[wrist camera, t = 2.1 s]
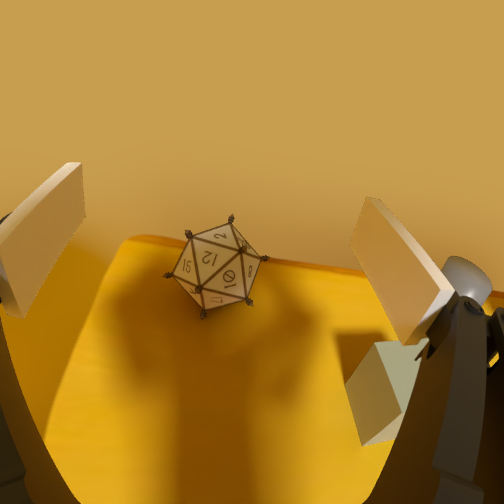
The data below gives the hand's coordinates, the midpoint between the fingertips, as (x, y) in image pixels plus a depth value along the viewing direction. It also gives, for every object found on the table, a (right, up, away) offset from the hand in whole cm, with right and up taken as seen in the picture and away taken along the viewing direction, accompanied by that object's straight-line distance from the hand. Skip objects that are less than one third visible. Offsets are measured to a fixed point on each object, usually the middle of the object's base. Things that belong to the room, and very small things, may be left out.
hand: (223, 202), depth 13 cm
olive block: (+12, -15, +8) cm, 21 cm away
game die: (-3, -7, +17) cm, 18 cm away
